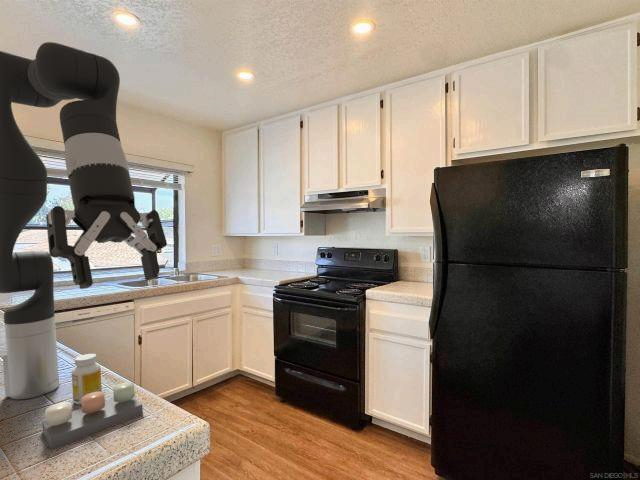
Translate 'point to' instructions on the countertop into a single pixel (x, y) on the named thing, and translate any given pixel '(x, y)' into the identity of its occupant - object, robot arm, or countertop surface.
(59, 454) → the countertop surface
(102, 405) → the terracotta button
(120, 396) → the sage button
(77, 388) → the supplement bottle
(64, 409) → the cream button
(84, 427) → the button panel
